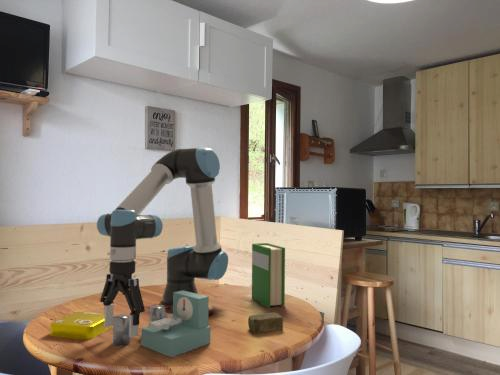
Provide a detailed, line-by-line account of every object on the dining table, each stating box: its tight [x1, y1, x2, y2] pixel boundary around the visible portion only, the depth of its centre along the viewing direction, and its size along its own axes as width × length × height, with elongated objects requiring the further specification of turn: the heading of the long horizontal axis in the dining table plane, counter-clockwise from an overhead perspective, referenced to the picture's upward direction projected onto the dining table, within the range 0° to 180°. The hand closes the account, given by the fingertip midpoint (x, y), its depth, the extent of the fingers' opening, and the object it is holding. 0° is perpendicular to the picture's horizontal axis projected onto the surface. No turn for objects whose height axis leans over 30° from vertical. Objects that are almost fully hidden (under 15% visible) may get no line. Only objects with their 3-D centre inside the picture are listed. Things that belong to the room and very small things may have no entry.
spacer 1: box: [112, 313, 131, 347], centre depth 126 cm, size 5×5×8 cm
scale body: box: [141, 291, 211, 358], centre depth 125 cm, size 15×14×14 cm
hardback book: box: [251, 242, 286, 309], centre depth 177 cm, size 18×7×24 cm, turn 22°
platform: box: [148, 315, 182, 332], centre depth 122 cm, size 9×4×3 cm, turn 140°
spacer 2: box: [149, 304, 166, 322], centre depth 137 cm, size 5×5×8 cm
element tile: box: [49, 311, 113, 340], centre depth 137 cm, size 15×15×5 cm
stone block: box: [247, 311, 284, 334], centre depth 140 cm, size 6×12×5 cm, turn 116°
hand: (120, 331), depth 125 cm, fingers open, 13 cm apart
